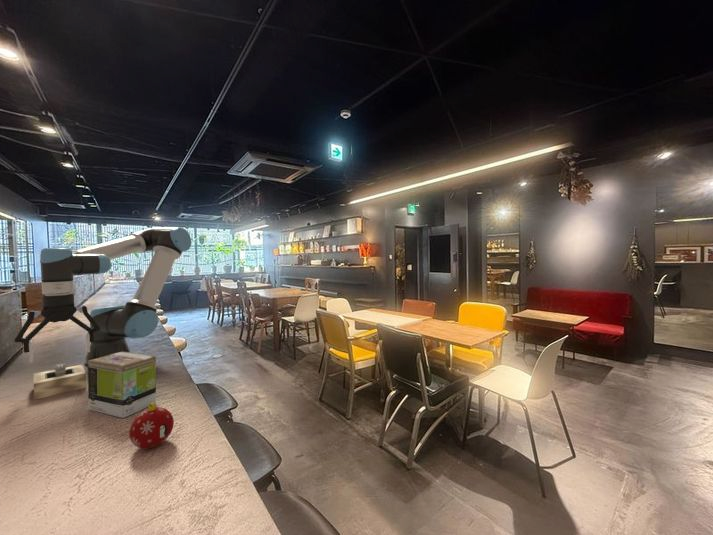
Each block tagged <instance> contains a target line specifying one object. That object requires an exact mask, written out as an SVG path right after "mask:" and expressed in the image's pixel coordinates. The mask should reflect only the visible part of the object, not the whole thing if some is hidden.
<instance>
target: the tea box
mask: <svg viewBox="0 0 713 535" xmlns="http://www.w3.org/2000/svg"><path fill="white" fill-rule="evenodd" d="M156 358H157V357H156V355H152V354H144V353H137V352H131V351H130V352H119V353H115V354H111V355H107V356H104V357H100V358H96V359H92V360H89V361H88V365H87V374H88V375H87V383H88V386H87V390H88V391H87V393H88V395H87V396H88V397H87V398H88V399H87V400H88V401H87V404H88V410H90V411H94V412H98V413H102V414H106V415H110V416H114V417H118V418H122V419H123V418H124V419H125V418H126V417H129V416H132V415H134V414H136V413H138V412H140V411H142V410H145V409H146V408H147V409H148V408H149V406H150V404H151V403H154V405H156V402H157V381H156V380H157V378H156V377H157V371H156V370H157V369H156V367H157V366H156V365H157V359H156Z"/></svg>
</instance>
